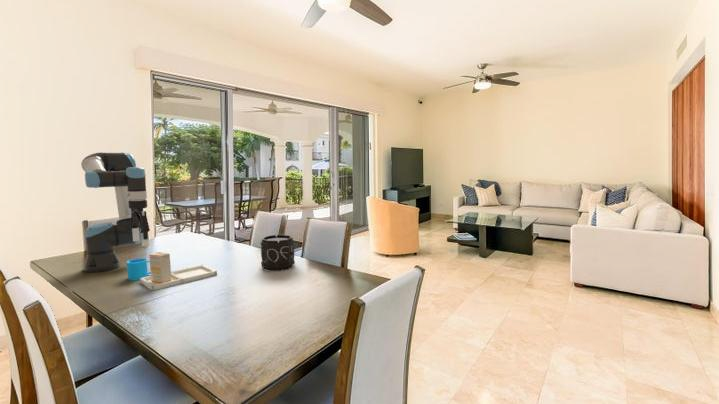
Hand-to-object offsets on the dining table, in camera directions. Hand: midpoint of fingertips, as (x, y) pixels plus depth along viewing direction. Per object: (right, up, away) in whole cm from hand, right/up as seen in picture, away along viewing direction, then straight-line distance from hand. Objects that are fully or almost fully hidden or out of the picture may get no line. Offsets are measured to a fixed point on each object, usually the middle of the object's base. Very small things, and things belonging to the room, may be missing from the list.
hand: (140, 243), depth 169 cm
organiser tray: (+20, -17, -2) cm, 26 cm away
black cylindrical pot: (+63, -15, +17) cm, 67 cm away
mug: (0, -16, +2) cm, 17 cm away
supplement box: (+14, -17, -7) cm, 23 cm away
